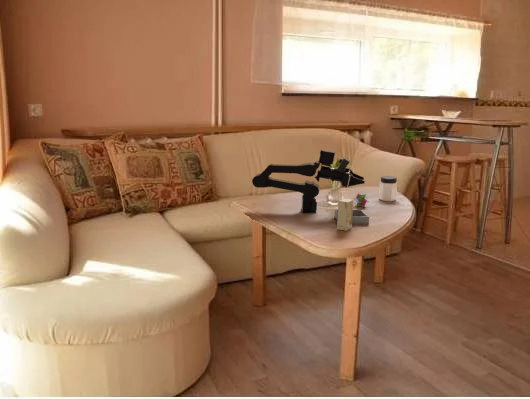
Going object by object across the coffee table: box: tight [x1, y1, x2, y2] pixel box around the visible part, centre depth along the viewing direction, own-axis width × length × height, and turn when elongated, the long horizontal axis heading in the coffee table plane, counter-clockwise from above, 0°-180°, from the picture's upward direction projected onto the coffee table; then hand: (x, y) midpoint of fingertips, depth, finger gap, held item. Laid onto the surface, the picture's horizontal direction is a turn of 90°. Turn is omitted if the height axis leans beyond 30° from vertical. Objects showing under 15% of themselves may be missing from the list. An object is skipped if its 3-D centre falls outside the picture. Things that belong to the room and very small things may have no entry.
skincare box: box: [336, 198, 354, 232], centre depth 190 cm, size 6×4×12 cm
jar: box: [378, 175, 398, 202], centre depth 243 cm, size 9×8×12 cm
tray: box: [334, 209, 370, 226], centre depth 202 cm, size 12×12×4 cm
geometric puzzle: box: [353, 193, 369, 208], centre depth 228 cm, size 7×7×8 cm
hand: (364, 180), depth 210 cm, fingers open, 9 cm apart
